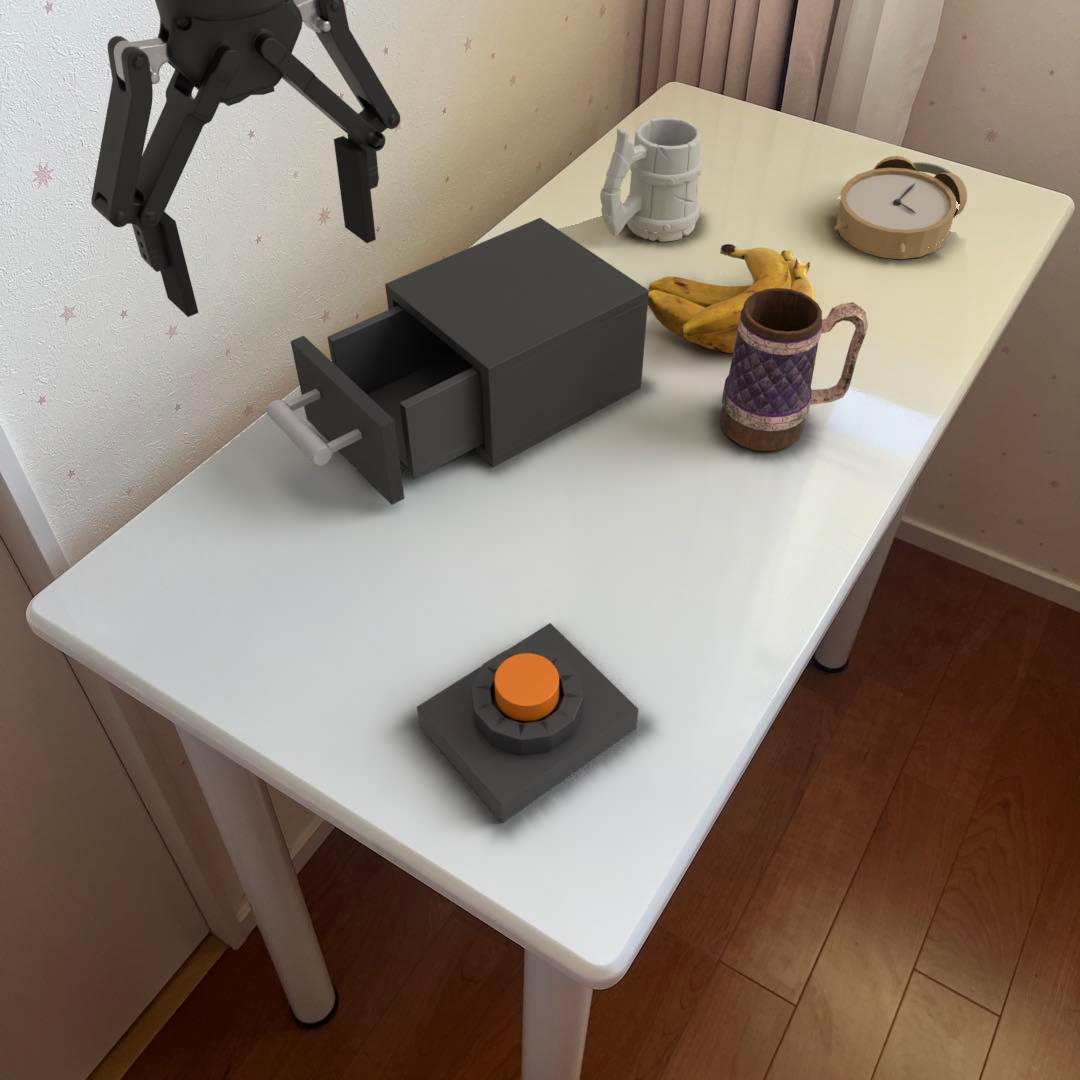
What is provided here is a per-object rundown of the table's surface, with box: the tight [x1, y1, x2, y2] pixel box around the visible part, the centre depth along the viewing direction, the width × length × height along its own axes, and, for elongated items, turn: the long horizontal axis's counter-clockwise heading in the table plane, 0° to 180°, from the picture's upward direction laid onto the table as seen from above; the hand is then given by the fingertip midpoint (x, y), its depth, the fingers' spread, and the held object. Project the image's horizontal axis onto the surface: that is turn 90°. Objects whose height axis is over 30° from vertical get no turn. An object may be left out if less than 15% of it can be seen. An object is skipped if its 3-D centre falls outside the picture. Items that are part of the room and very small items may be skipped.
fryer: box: [384, 217, 650, 468], centre depth 92 cm, size 16×14×10 cm
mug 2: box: [719, 288, 869, 452], centre depth 88 cm, size 10×7×12 cm
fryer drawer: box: [266, 305, 485, 506], centre depth 87 cm, size 19×13×8 cm
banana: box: [648, 243, 816, 354], centre depth 101 cm, size 15×19×6 cm
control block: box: [416, 622, 639, 824], centre depth 71 cm, size 11×9×4 cm
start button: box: [494, 653, 559, 721], centre depth 69 cm, size 4×4×2 cm
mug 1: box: [599, 116, 703, 243], centre depth 108 cm, size 8×12×12 cm, turn 128°
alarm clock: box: [833, 155, 968, 260], centre depth 112 cm, size 11×5×15 cm
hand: (275, 268), depth 74 cm, fingers open, 13 cm apart
